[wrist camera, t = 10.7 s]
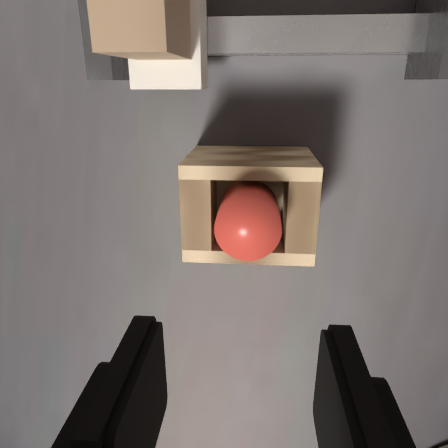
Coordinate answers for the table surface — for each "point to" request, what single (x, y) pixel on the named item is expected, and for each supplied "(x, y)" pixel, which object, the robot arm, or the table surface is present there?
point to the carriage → (154, 40)
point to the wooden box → (250, 171)
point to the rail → (312, 39)
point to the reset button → (248, 221)
